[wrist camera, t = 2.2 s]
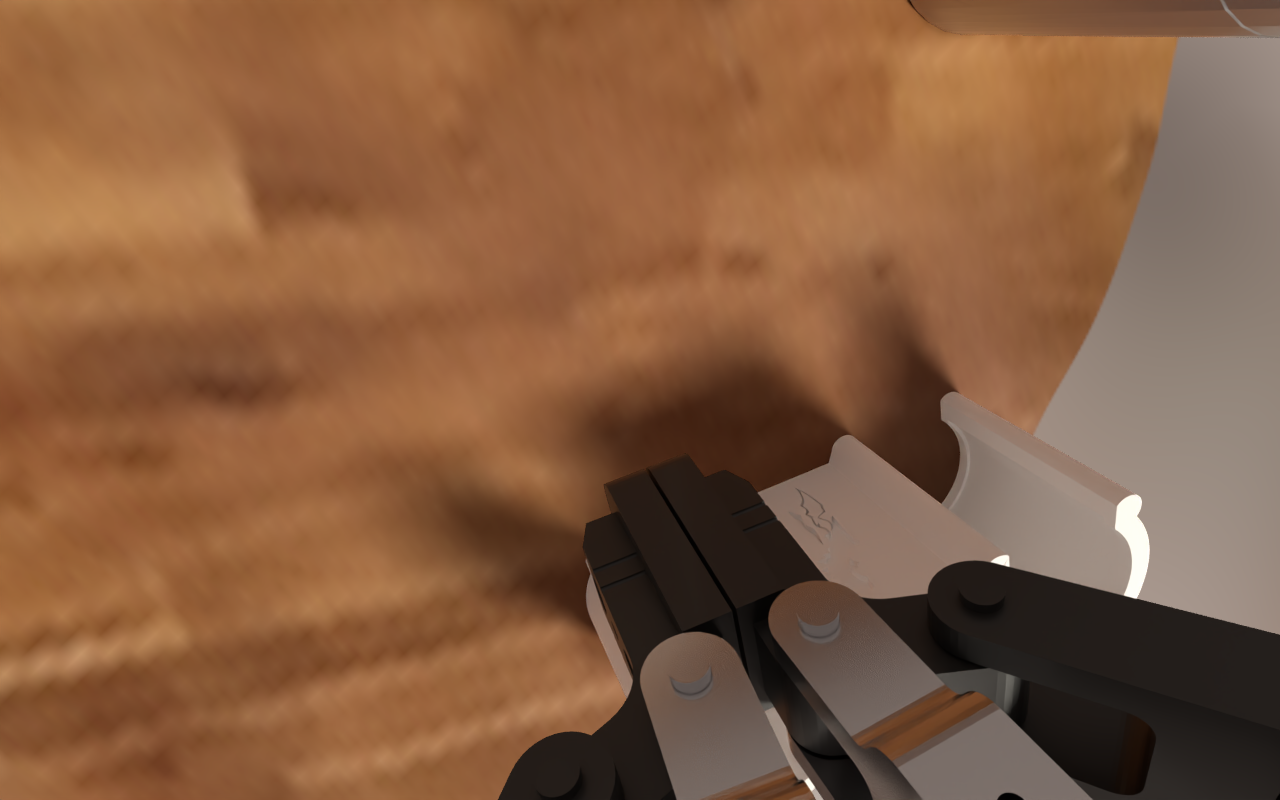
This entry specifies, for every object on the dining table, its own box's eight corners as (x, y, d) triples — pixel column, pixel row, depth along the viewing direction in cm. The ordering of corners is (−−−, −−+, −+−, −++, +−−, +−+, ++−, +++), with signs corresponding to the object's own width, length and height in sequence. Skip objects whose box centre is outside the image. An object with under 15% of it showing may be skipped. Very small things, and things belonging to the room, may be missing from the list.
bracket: (610, 676, 46) (693, 866, 35) (565, 546, 41) (646, 722, 31) (974, 513, 51) (1140, 637, 40) (971, 381, 46) (1159, 483, 36)
